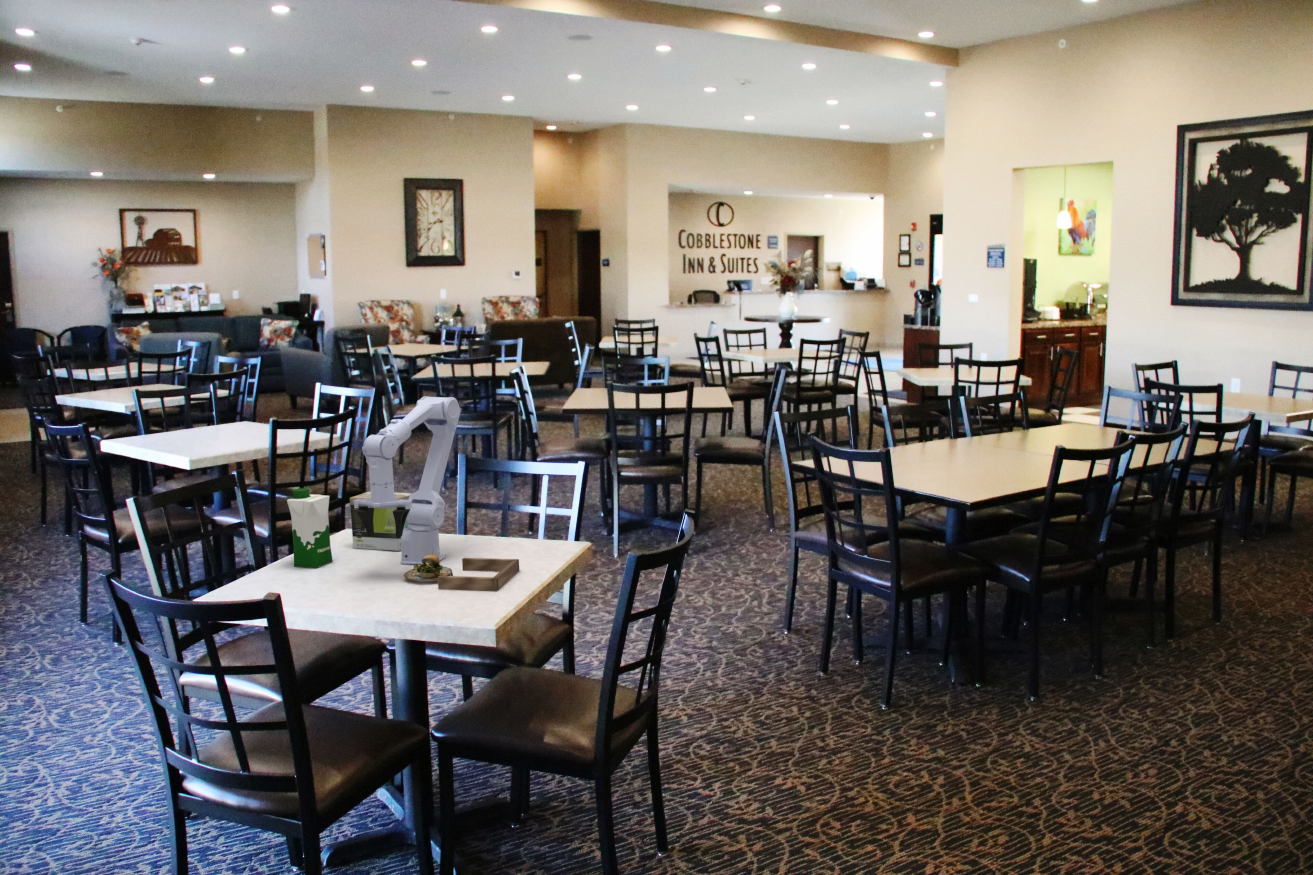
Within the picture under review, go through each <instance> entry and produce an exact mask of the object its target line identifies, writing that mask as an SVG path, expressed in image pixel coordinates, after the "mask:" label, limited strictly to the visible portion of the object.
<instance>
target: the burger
mask: <svg viewBox="0 0 1313 875" xmlns="http://www.w3.org/2000/svg"><path fill="white" fill-rule="evenodd" d="M433 550H434V548H433ZM422 563H423V564H417V563H416V564H413V568H412V569H409V570H407V571H405V572H404V574H403V577H404V579H406V578H407V579H409V580H411V581H415V582H423V583H424V582H436V581H438V577H439V576H454V573H453V570H452V569H451V568H449V567H447V566H444V565H442V564H440V563H441V561H440V560H439V558H438V557H437V556H435V555H433V554H432V555H428V556H425V557H424V558H423V559H422Z"/></svg>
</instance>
